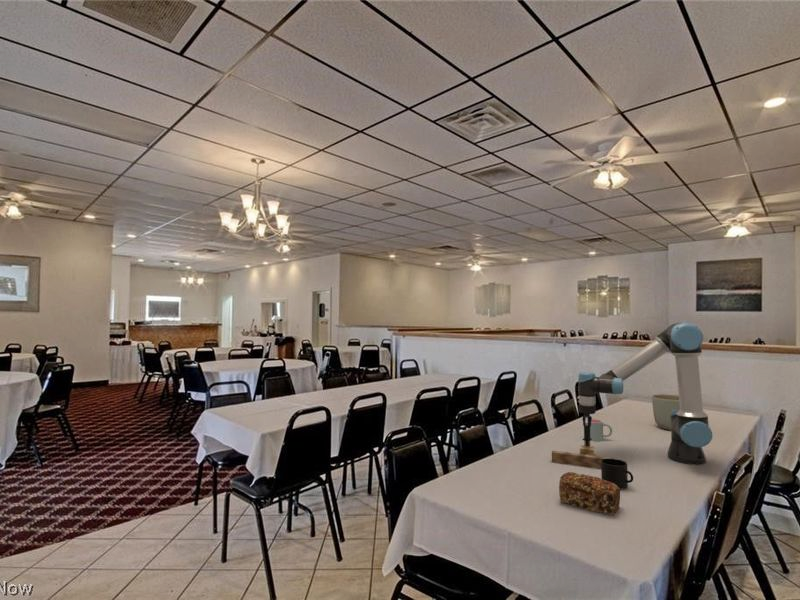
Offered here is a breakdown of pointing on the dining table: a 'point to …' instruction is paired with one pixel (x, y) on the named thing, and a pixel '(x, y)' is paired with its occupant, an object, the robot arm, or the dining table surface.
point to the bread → (589, 493)
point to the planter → (664, 409)
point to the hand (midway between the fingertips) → (587, 453)
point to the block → (587, 450)
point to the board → (577, 459)
